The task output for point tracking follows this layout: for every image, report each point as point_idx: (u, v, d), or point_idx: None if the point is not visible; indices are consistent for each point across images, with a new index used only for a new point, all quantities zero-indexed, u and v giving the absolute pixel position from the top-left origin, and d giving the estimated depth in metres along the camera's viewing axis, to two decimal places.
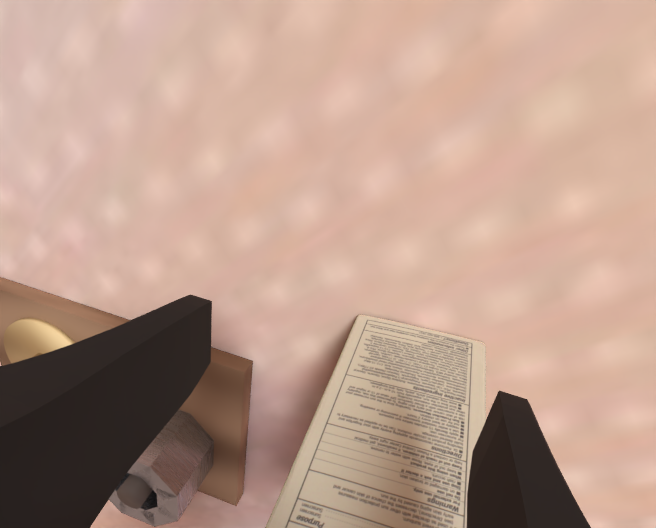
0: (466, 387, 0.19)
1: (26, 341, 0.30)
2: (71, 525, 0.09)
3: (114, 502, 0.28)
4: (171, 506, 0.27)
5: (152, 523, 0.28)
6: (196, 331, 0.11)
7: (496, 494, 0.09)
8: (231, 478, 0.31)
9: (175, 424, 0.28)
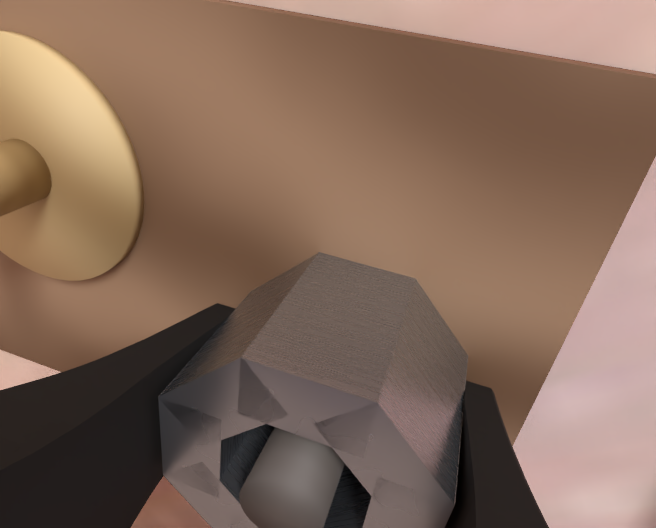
0: None
1: None
2: None
3: (213, 520, 0.10)
4: None
5: None
6: None
7: None
8: None
9: (392, 298, 0.10)
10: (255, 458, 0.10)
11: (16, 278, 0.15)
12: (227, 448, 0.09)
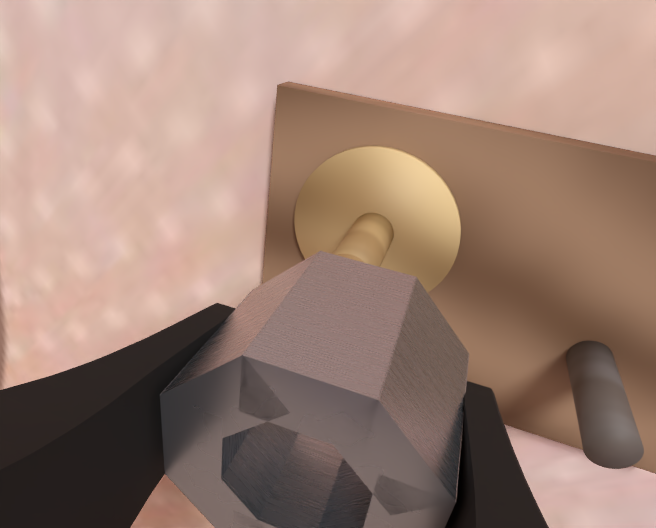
0: None
1: (348, 191, 0.18)
2: None
3: (215, 518, 0.10)
4: None
5: None
6: None
7: None
8: None
9: (393, 297, 0.10)
10: (256, 456, 0.10)
11: None
12: (228, 446, 0.09)
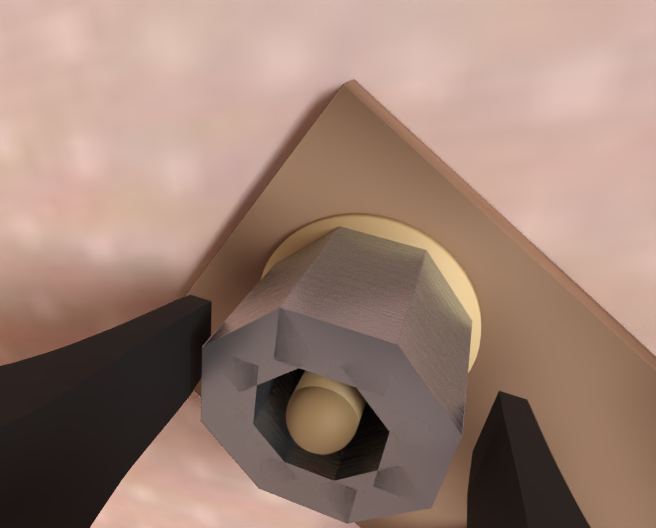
0: None
1: None
2: (71, 525, 0.09)
3: (244, 462, 0.11)
4: (426, 468, 0.10)
5: (343, 515, 0.11)
6: (196, 331, 0.11)
7: (496, 494, 0.09)
8: None
9: (406, 265, 0.11)
10: (282, 408, 0.12)
11: None
12: (260, 395, 0.11)
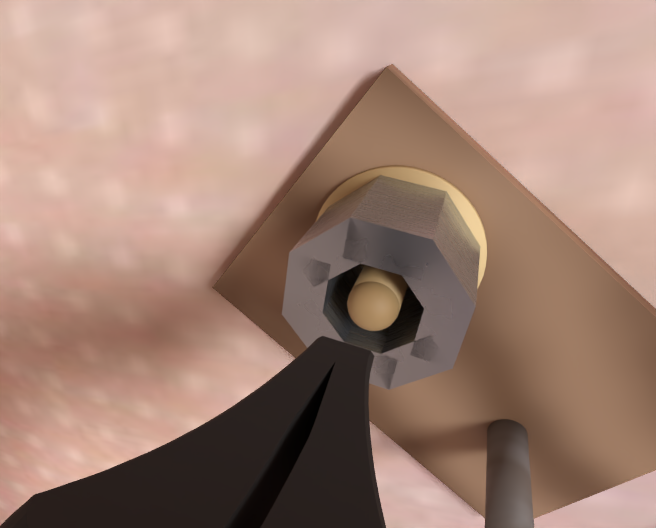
0: None
1: None
2: None
3: None
4: (449, 335, 0.14)
5: (386, 383, 0.15)
6: None
7: None
8: (539, 507, 0.22)
9: (433, 199, 0.15)
10: (339, 307, 0.16)
11: None
12: (328, 291, 0.15)
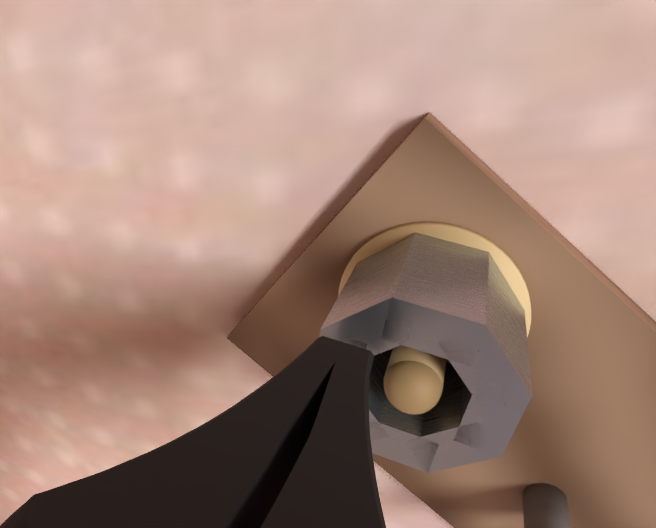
0: None
1: None
2: None
3: None
4: (500, 423, 0.12)
5: (424, 466, 0.14)
6: None
7: None
8: None
9: (476, 264, 0.14)
10: (372, 380, 0.14)
11: None
12: None
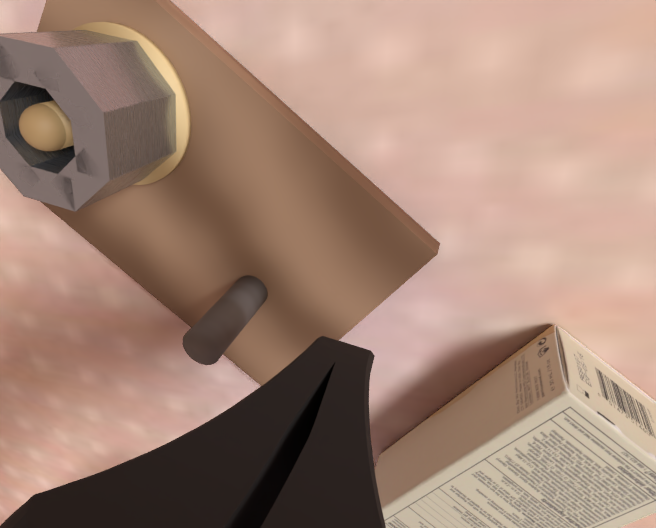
0: (599, 521, 0.18)
1: None
2: None
3: (10, 173, 0.17)
4: (96, 145, 0.16)
5: (71, 204, 0.17)
6: None
7: None
8: None
9: (109, 40, 0.17)
10: None
11: None
12: (9, 118, 0.17)
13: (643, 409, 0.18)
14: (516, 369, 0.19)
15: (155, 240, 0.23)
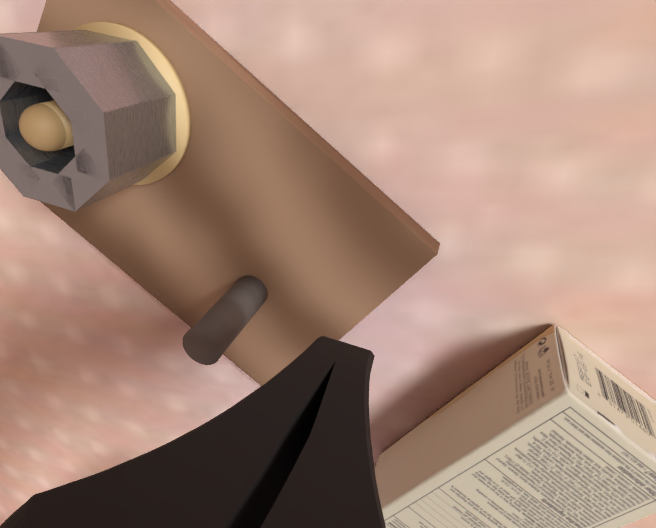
0: (599, 521, 0.18)
1: None
2: None
3: (10, 173, 0.17)
4: (96, 145, 0.16)
5: (71, 204, 0.17)
6: None
7: None
8: None
9: (109, 40, 0.17)
10: None
11: None
12: (9, 118, 0.17)
13: (643, 409, 0.18)
14: (516, 369, 0.19)
15: (155, 240, 0.23)
